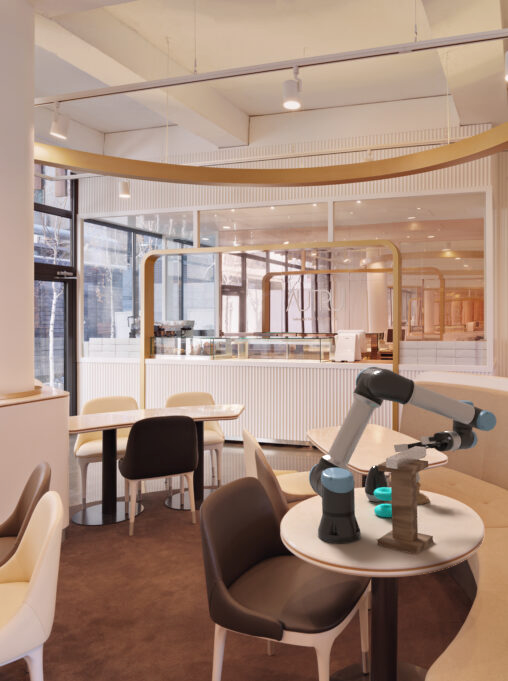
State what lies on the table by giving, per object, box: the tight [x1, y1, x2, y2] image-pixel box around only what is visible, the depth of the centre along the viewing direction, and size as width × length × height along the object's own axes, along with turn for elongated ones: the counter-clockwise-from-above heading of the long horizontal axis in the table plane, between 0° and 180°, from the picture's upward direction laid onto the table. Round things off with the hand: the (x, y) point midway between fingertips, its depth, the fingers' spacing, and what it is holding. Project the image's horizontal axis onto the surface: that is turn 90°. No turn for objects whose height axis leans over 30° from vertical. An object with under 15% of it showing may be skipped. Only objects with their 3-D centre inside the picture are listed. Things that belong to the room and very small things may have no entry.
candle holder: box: [416, 456, 430, 505], centre depth 247 cm, size 12×12×20 cm
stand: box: [376, 459, 434, 555], centre depth 198 cm, size 14×14×28 cm
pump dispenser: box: [364, 464, 388, 503], centre depth 249 cm, size 10×10×15 cm
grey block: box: [385, 446, 427, 469], centre depth 200 cm, size 24×4×3 cm, turn 141°
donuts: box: [373, 487, 392, 519], centre depth 229 cm, size 10×10×10 cm
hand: (408, 444), depth 212 cm, fingers open, 13 cm apart
